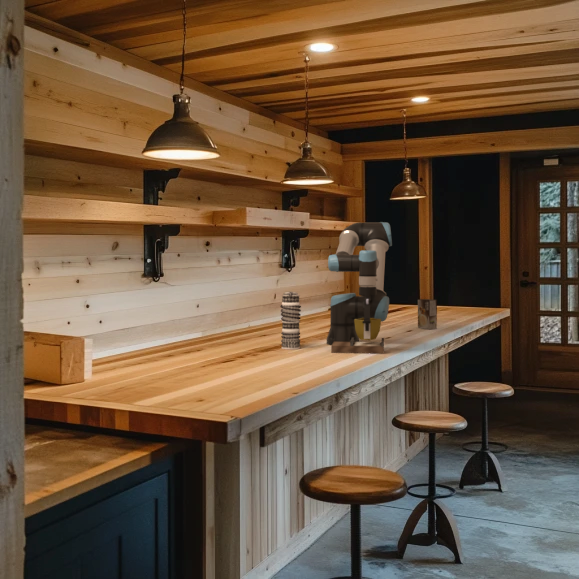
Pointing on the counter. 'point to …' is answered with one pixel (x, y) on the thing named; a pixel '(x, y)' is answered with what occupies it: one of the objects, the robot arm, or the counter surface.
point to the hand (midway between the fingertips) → (367, 337)
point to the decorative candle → (290, 320)
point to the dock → (358, 347)
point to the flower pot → (373, 328)
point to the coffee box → (427, 314)
